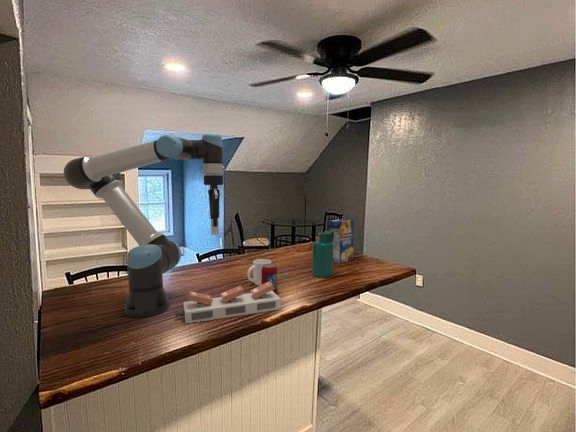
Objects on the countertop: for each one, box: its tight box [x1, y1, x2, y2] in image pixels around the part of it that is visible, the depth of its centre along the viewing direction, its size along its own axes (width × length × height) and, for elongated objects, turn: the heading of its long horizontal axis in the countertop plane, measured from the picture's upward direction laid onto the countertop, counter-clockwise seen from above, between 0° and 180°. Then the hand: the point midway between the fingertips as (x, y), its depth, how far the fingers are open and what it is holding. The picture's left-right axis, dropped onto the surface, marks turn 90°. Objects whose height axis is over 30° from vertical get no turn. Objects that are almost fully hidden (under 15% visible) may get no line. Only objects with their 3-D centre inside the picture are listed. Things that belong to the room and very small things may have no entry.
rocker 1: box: [187, 290, 213, 305], centre depth 115 cm, size 8×5×2 cm, turn 111°
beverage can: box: [261, 263, 278, 294], centre depth 138 cm, size 7×7×12 cm
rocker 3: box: [250, 282, 274, 299], centre depth 123 cm, size 8×5×2 cm, turn 111°
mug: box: [246, 258, 272, 286], centre depth 150 cm, size 12×8×10 cm
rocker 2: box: [219, 284, 246, 302], centre depth 119 cm, size 8×5×2 cm, turn 111°
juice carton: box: [329, 218, 355, 265], centre depth 189 cm, size 12×8×24 cm, turn 130°
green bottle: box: [311, 230, 334, 279], centre depth 162 cm, size 10×8×22 cm
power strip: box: [174, 291, 282, 325], centre depth 119 cm, size 37×10×5 cm, turn 111°
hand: (215, 234), depth 129 cm, fingers closed
